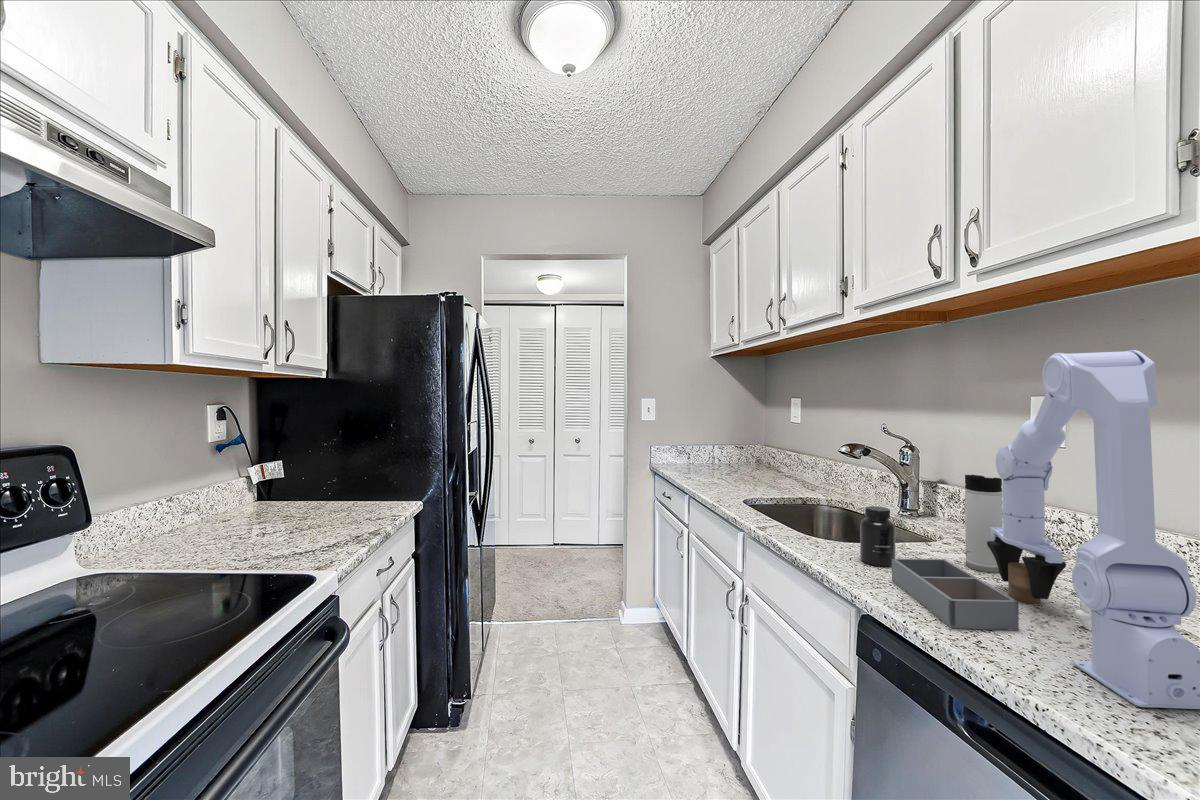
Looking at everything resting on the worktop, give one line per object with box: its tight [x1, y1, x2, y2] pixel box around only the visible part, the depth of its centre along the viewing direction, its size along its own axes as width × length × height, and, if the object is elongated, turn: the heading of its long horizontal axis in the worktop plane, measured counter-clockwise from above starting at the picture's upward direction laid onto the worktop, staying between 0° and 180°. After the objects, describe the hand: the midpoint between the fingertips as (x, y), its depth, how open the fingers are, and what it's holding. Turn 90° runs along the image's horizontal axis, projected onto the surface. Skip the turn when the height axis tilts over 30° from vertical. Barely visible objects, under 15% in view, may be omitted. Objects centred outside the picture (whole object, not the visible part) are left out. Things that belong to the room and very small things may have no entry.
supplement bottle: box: [859, 505, 896, 568], centre depth 110 cm, size 7×7×12 cm
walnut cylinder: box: [1007, 562, 1042, 605], centre depth 90 cm, size 4×4×6 cm
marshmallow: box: [1073, 600, 1092, 631], centre depth 78 cm, size 5×1×4 cm, turn 68°
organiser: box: [891, 558, 1020, 631], centre depth 89 cm, size 20×10×4 cm, turn 174°
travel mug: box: [964, 474, 1003, 574], centre depth 105 cm, size 6×7×20 cm
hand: (1024, 589), depth 90 cm, fingers open, 7 cm apart
